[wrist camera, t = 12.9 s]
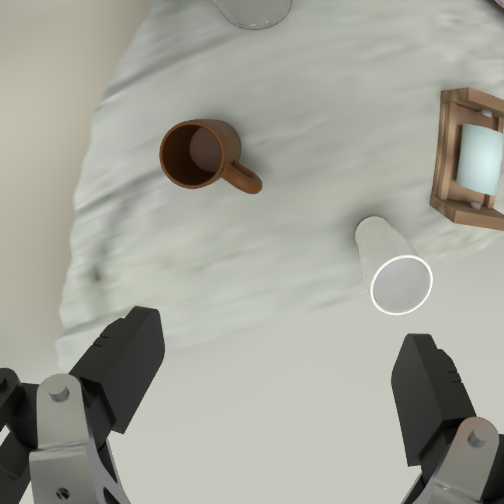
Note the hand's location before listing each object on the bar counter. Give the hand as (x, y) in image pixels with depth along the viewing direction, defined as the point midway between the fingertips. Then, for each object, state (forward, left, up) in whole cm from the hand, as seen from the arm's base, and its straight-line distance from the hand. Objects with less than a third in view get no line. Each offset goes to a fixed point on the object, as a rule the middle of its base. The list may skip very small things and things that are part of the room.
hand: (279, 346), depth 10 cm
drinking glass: (+7, +11, -33) cm, 36 cm away
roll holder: (-6, +24, -33) cm, 41 cm away
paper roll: (-6, +24, -32) cm, 40 cm away
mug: (-2, -9, -33) cm, 35 cm away
